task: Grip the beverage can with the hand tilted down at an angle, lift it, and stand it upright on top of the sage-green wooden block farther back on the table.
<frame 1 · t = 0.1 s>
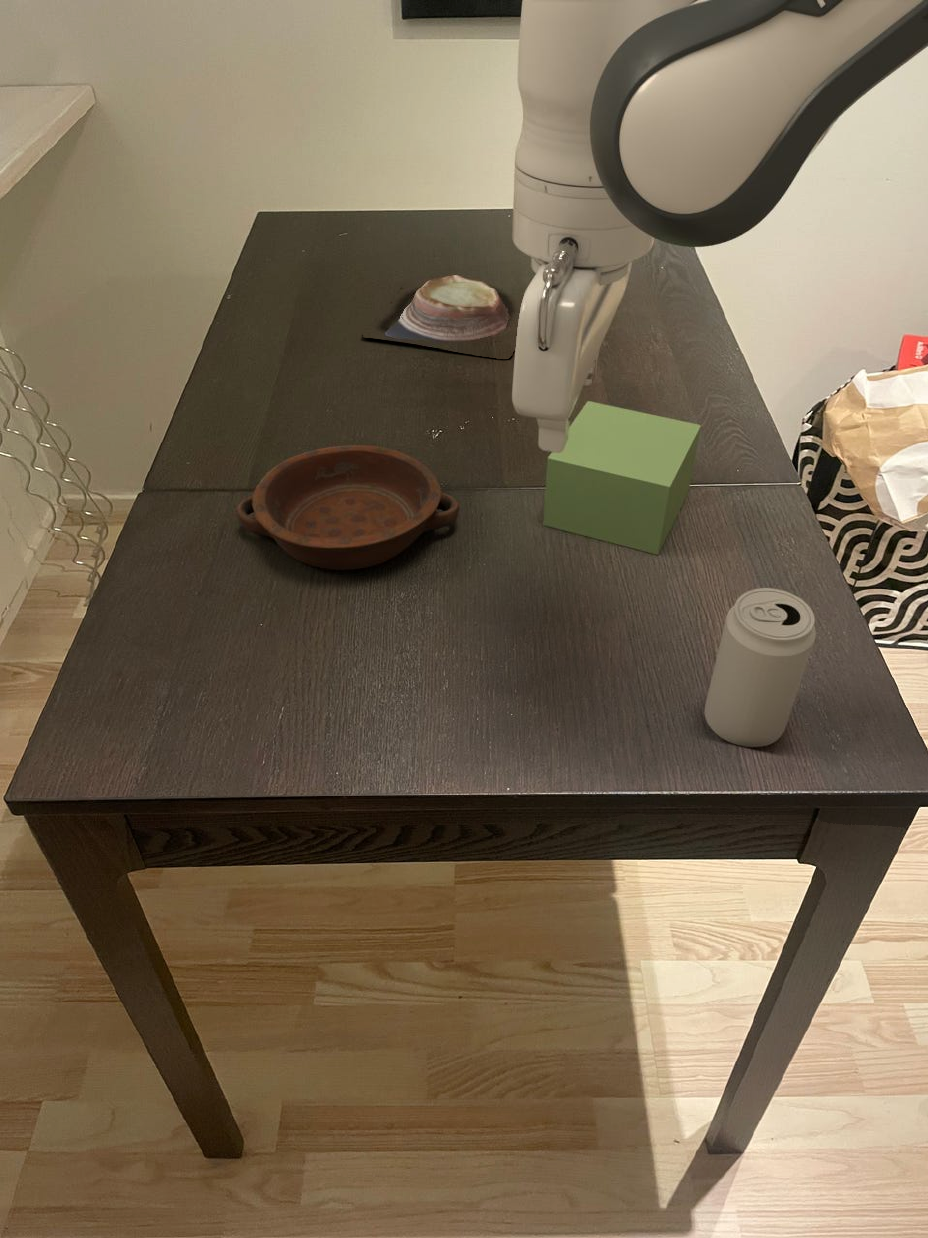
hand: (568, 412, 68), 23 cm above the table, tool pointing down, fingers open, 8 cm apart
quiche: (455, 320, 132), on the table
beverage can: (742, 724, 77), on the table
green block: (617, 507, 99), on the table
dish: (350, 533, 96), on the table
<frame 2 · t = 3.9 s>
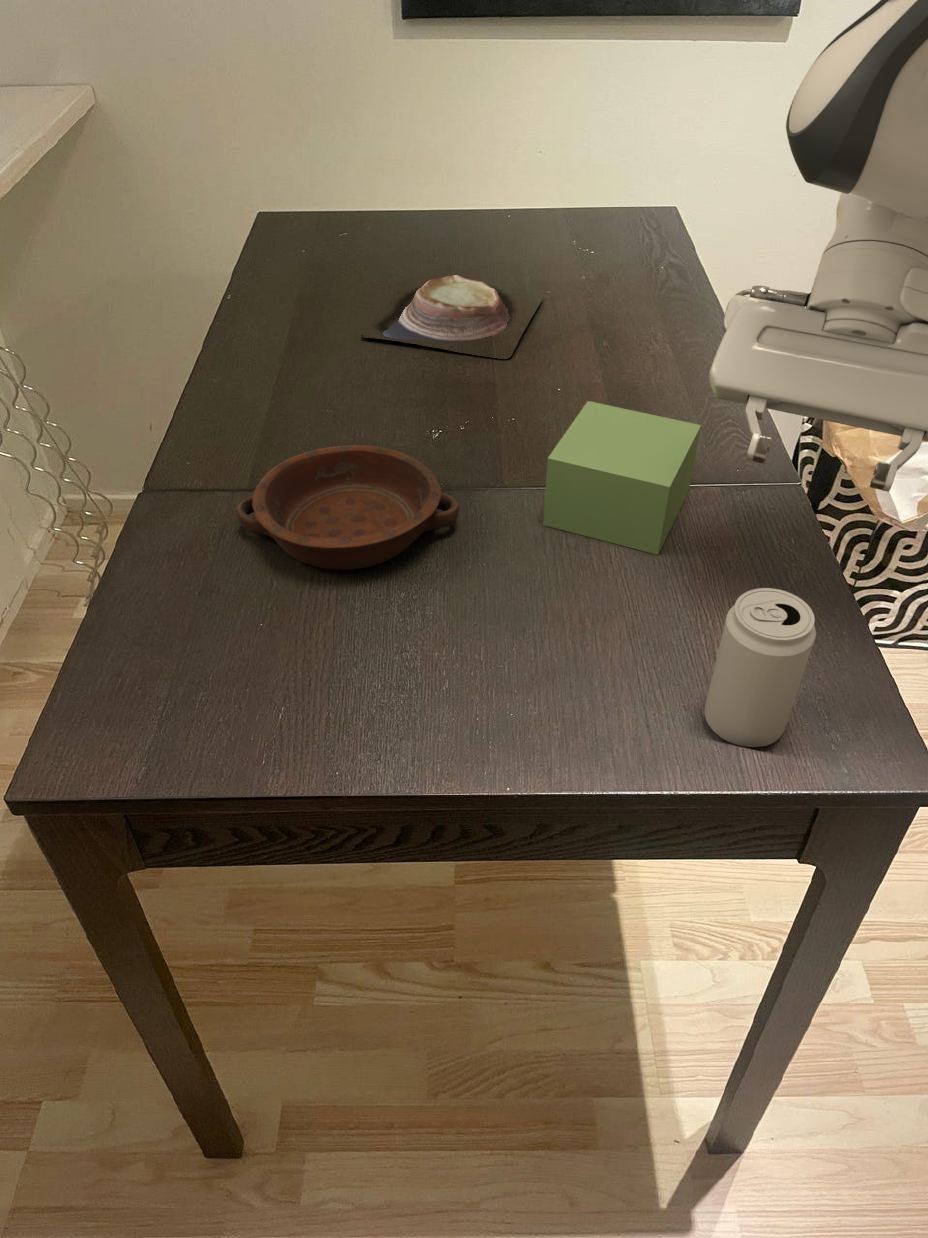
hand: (816, 474, 74), 16 cm above the table, tool tilted 45°, fingers open, 8 cm apart
nothing on the table moved.
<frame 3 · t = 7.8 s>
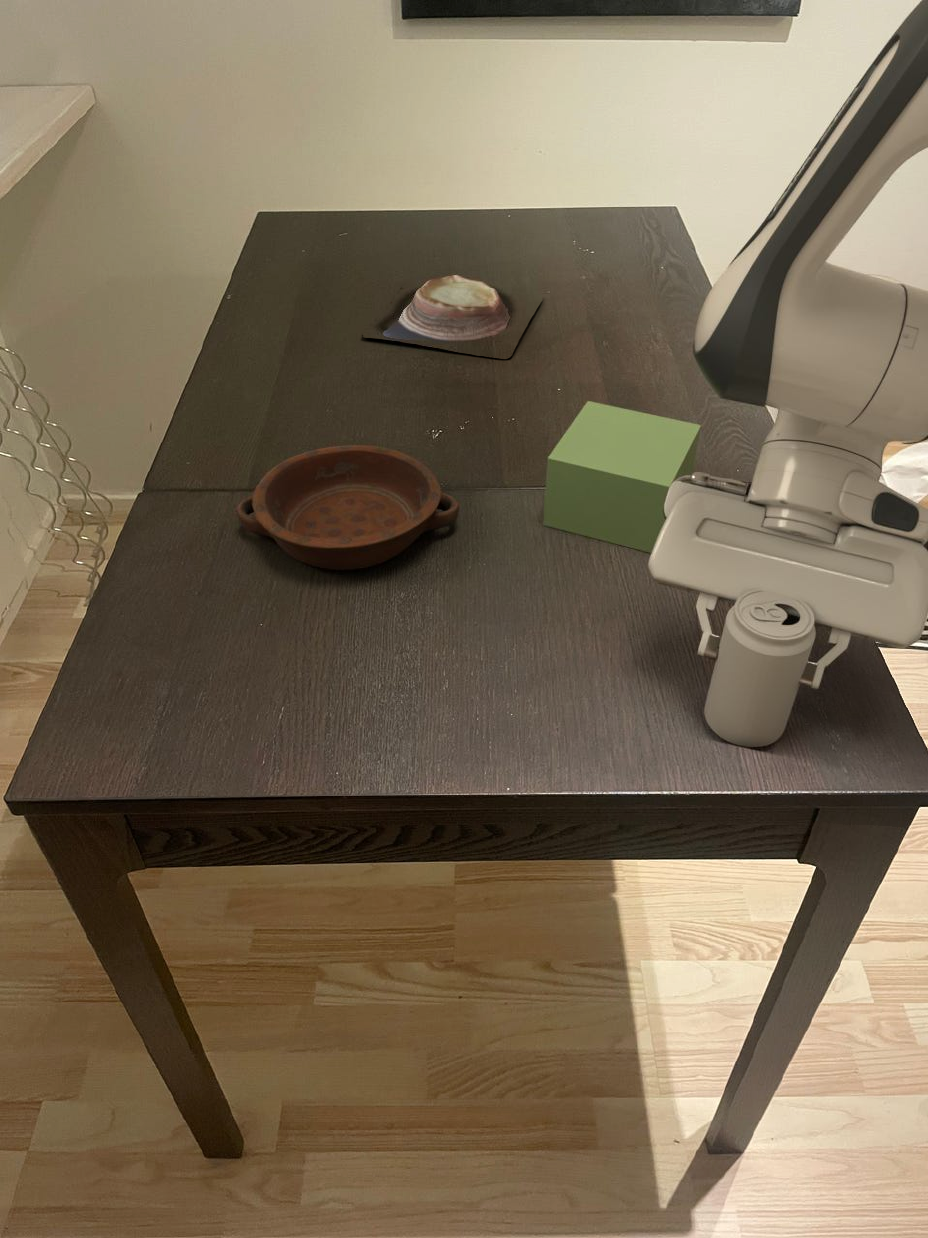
hand: (756, 671, 72), 6 cm above the table, tool tilted 45°, fingers closed on beverage can, 6 cm apart
beverage can: (741, 724, 77), on the table, touching gripper
everything else where it was.
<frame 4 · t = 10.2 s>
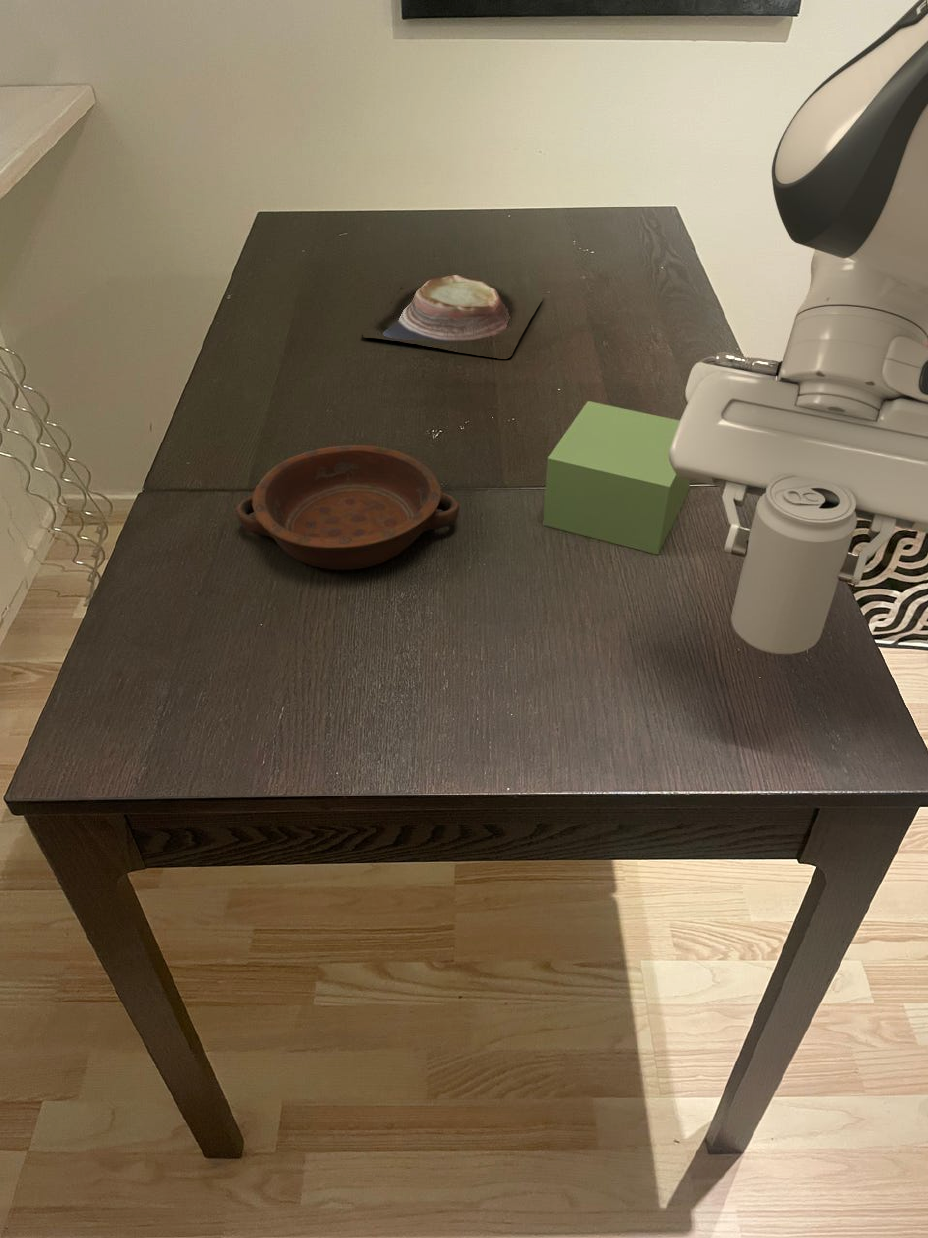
hand: (790, 567, 65), 17 cm above the table, tool tilted 45°, fingers closed on beverage can, 6 cm apart
beverage can: (772, 633, 70), point 10 cm above the table, touching gripper
everything else where it was.
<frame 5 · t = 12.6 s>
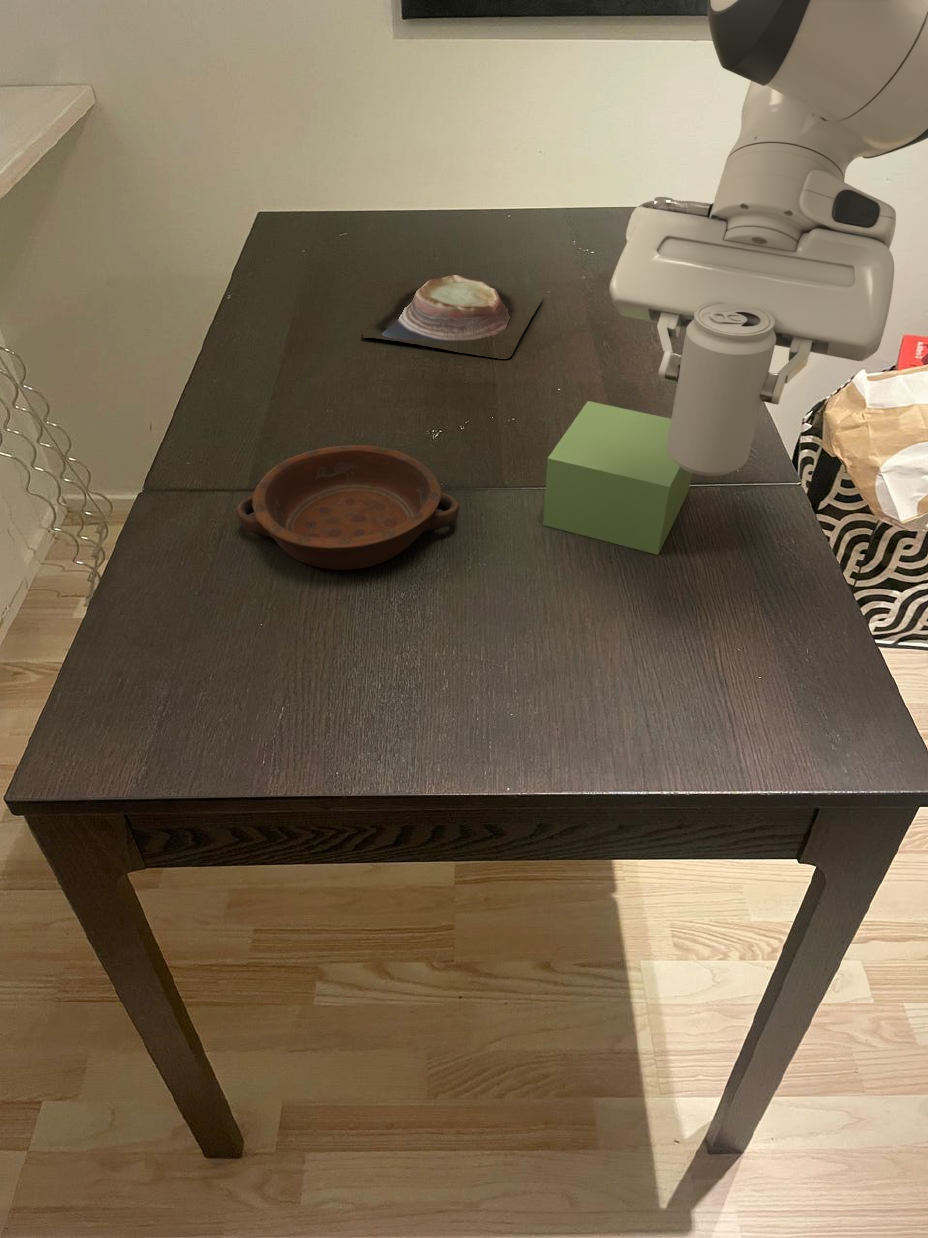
hand: (718, 390, 71), 23 cm above the table, tool tilted 45°, fingers closed on beverage can, 6 cm apart
beverage can: (704, 461, 76), point 16 cm above the table, touching gripper
everything else where it was.
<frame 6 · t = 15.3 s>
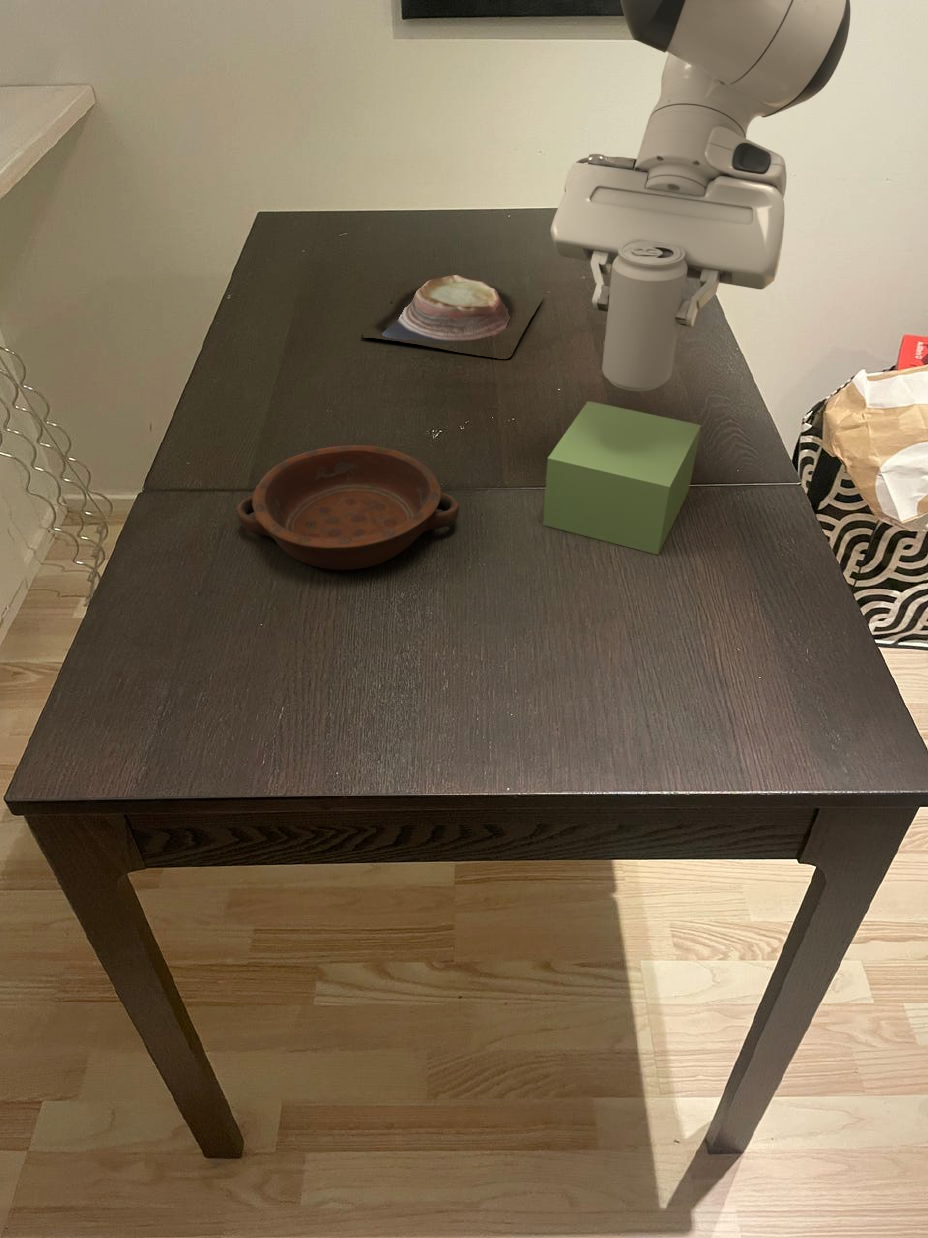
hand: (641, 315, 84), 21 cm above the table, tool tilted 45°, fingers closed on beverage can, 6 cm apart
beverage can: (635, 380, 89), point 15 cm above the table, touching gripper
everything else where it was.
when the fingers open (14 cm above the table, at t = 17.7 s): beverage can stays where it is, resting on green block.
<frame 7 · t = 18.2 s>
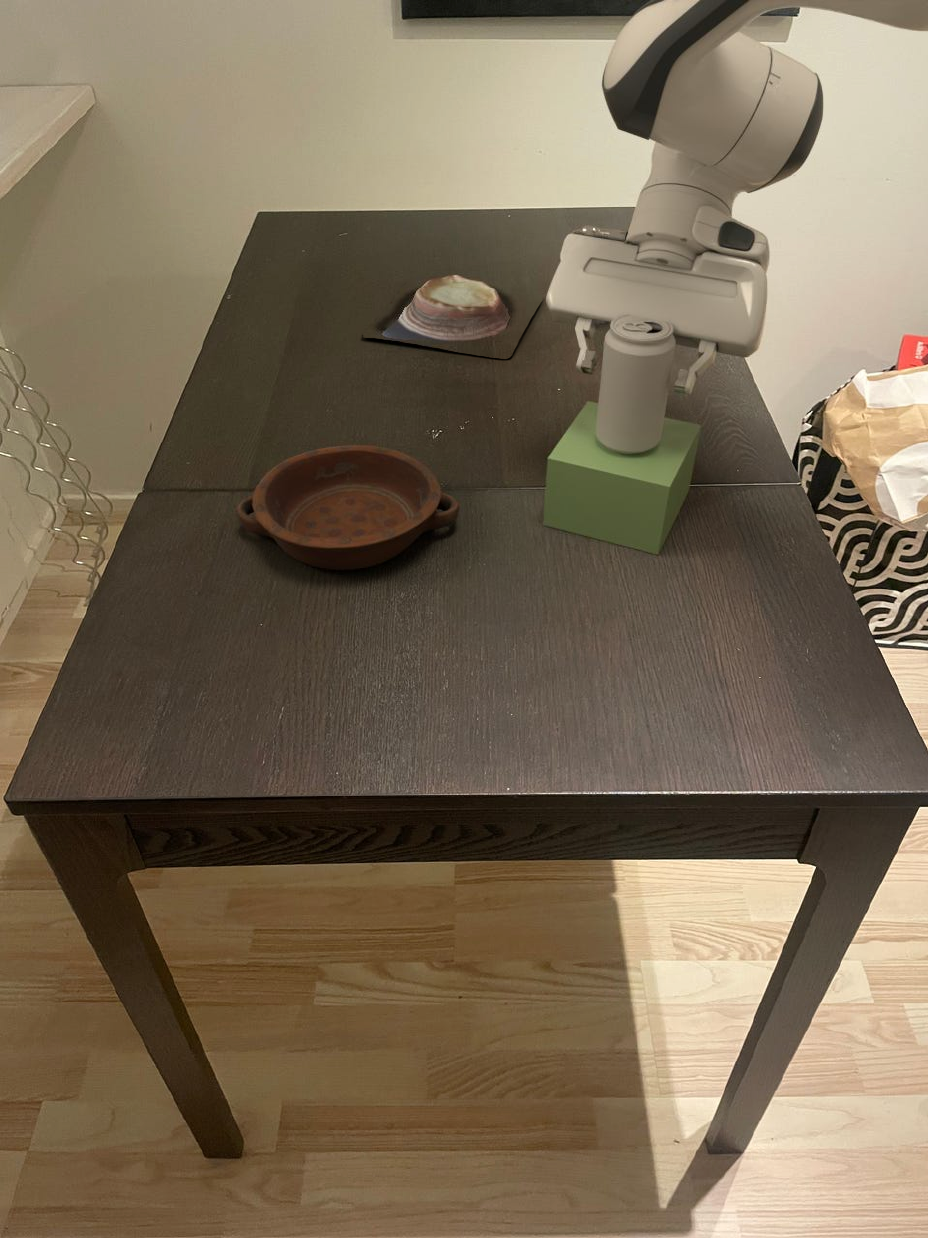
hand: (632, 381, 89), 15 cm above the table, tool tilted 45°, fingers open, 8 cm apart
beverage can: (626, 442, 94), point 8 cm above the table, touching green block
everything else where it was.
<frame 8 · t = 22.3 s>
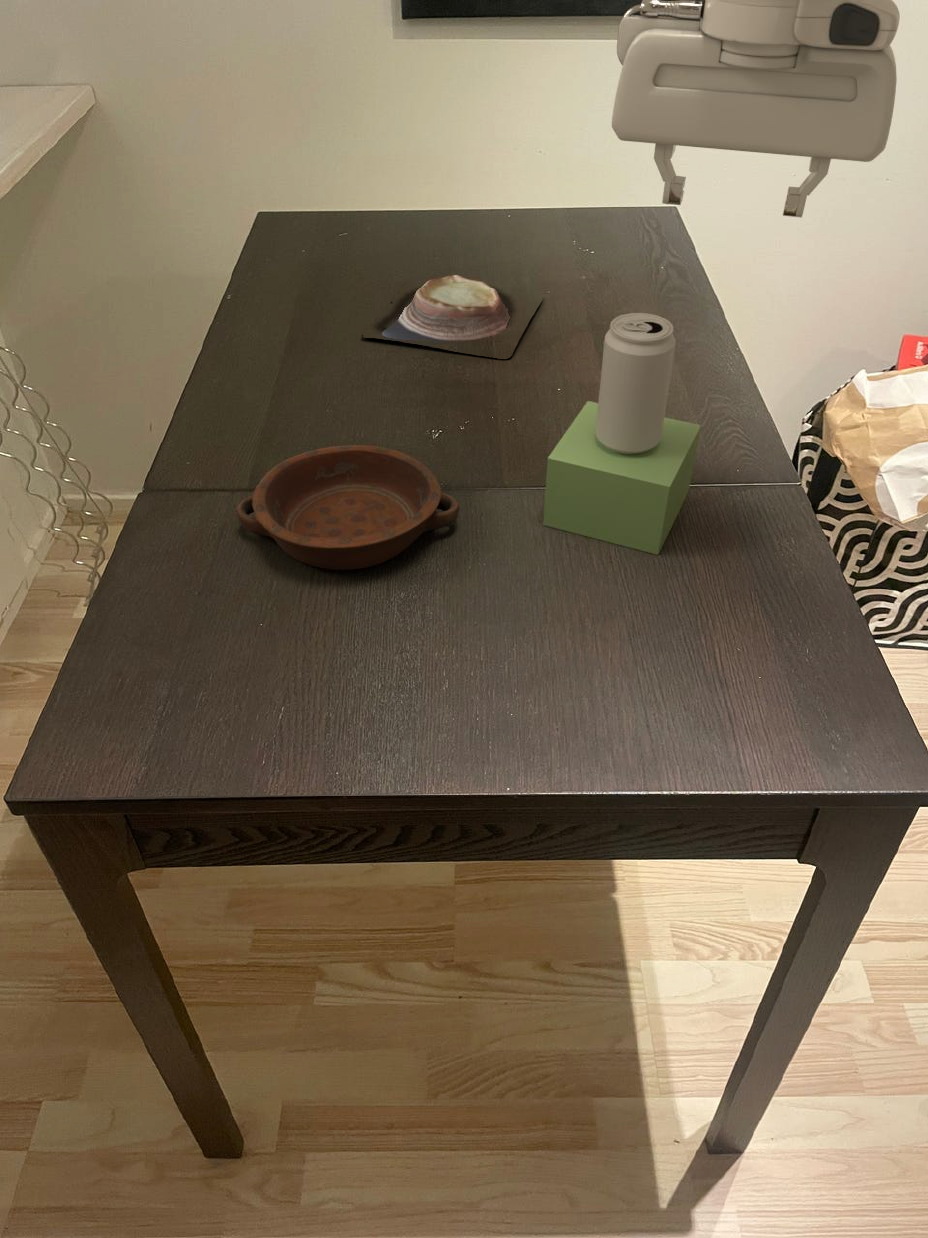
hand: (731, 208, 76), 31 cm above the table, tool pointing down, fingers open, 8 cm apart
nothing on the table moved.
at the end: beverage can inside the target area on the green block (0.1 cm from its centre), point 7.8 cm above the green block's base; beverage can tilted 0°; the gripper is holding nothing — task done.
